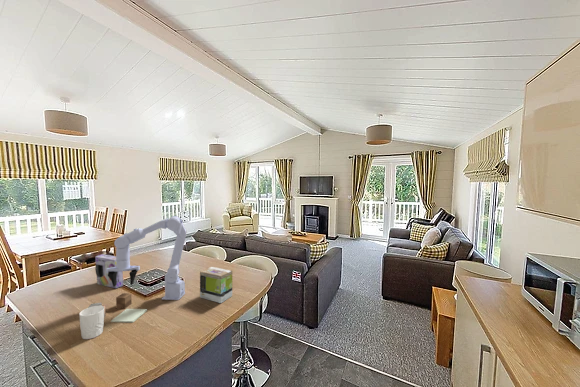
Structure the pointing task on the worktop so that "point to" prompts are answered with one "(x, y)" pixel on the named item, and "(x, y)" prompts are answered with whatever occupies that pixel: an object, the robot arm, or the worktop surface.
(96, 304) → the grey stone block
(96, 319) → the white cup
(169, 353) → the worktop surface
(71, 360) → the worktop surface
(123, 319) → the coaster
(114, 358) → the worktop surface
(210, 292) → the tea box
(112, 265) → the cake pan box
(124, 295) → the walnut block
